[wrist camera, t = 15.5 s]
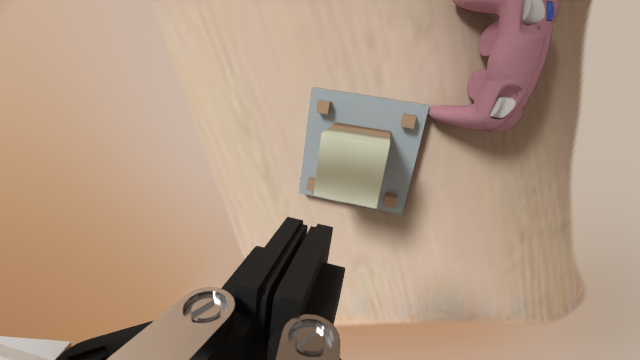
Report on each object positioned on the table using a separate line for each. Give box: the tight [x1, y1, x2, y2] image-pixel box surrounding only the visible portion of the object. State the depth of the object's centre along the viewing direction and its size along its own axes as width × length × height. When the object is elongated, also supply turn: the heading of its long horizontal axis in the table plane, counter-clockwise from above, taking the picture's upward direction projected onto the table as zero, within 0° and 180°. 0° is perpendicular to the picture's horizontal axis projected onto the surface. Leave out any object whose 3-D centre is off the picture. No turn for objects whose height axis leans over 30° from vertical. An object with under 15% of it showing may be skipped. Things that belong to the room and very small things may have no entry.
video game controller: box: [428, 0, 559, 131], centre depth 22 cm, size 10×5×7 cm, turn 173°
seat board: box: [299, 87, 429, 215], centre depth 28 cm, size 10×10×2 cm
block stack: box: [313, 122, 390, 208], centre depth 25 cm, size 5×5×6 cm
